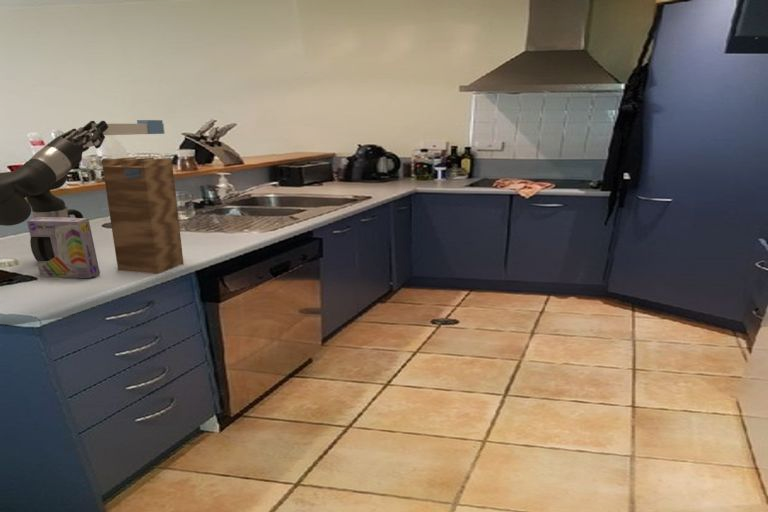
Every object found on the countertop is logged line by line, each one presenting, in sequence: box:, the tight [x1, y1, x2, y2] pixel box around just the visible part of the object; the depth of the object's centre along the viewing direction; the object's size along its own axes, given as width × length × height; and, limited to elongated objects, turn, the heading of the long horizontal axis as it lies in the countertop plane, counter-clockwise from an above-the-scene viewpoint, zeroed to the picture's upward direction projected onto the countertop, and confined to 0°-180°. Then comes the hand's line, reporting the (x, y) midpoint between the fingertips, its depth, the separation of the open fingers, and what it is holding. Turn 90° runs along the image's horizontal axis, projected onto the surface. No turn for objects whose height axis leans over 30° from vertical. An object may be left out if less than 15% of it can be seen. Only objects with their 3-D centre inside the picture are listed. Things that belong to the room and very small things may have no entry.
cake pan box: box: [26, 217, 101, 279], centre depth 151 cm, size 19×5×18 cm, turn 77°
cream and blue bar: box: [91, 119, 166, 136], centre depth 145 cm, size 24×4×4 cm, turn 163°
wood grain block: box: [101, 156, 184, 275], centre depth 157 cm, size 13×15×34 cm
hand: (100, 123), depth 135 cm, fingers closed on cream and blue bar, 3 cm apart
